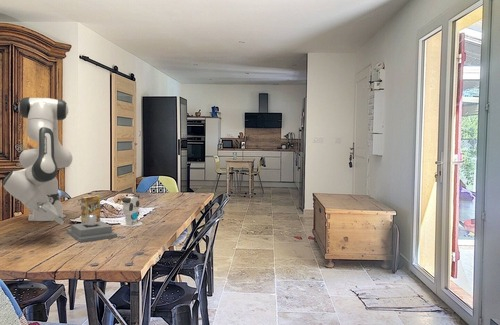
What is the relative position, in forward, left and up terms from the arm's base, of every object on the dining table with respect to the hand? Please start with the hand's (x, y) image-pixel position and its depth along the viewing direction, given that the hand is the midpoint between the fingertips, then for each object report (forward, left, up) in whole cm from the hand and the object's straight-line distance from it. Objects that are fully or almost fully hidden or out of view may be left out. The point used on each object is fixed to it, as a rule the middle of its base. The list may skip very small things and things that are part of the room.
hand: (62, 221), depth 177 cm
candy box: (-18, +18, -8) cm, 26 cm away
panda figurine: (-9, +36, -8) cm, 38 cm away
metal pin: (+2, +12, -6) cm, 14 cm away
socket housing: (+2, +12, -7) cm, 14 cm away
